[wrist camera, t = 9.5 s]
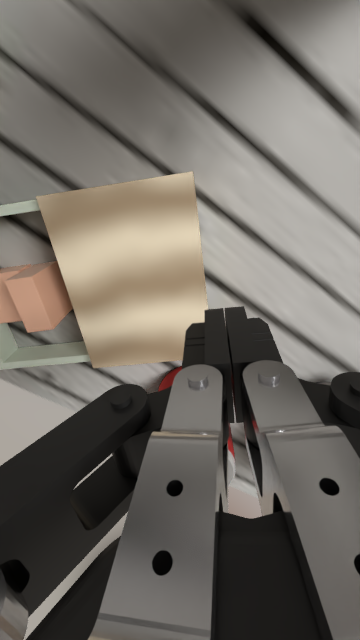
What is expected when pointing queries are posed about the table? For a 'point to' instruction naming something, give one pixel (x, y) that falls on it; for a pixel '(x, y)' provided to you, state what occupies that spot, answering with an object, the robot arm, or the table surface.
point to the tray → (6, 354)
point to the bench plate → (130, 266)
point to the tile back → (3, 305)
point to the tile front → (40, 296)
